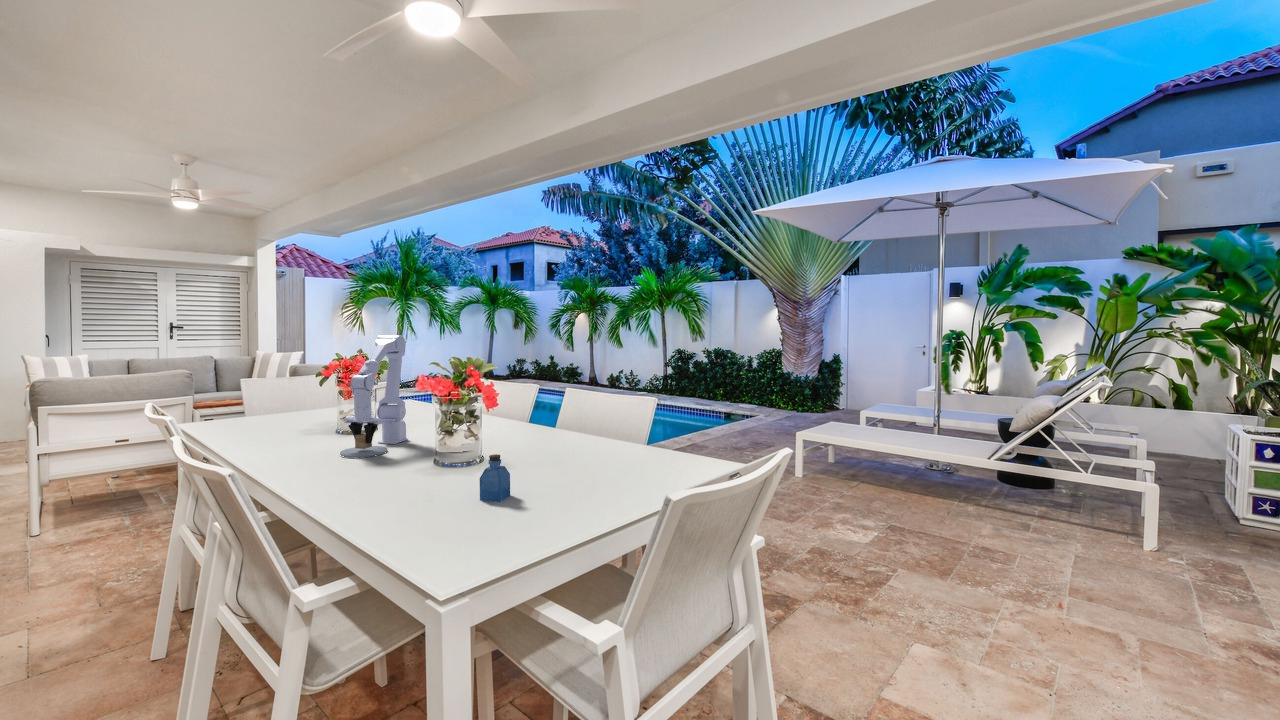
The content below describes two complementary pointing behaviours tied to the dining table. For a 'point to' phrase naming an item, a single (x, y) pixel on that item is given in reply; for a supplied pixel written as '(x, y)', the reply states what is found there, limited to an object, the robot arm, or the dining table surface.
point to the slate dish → (363, 451)
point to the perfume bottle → (495, 481)
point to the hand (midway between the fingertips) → (363, 442)
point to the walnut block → (361, 441)
